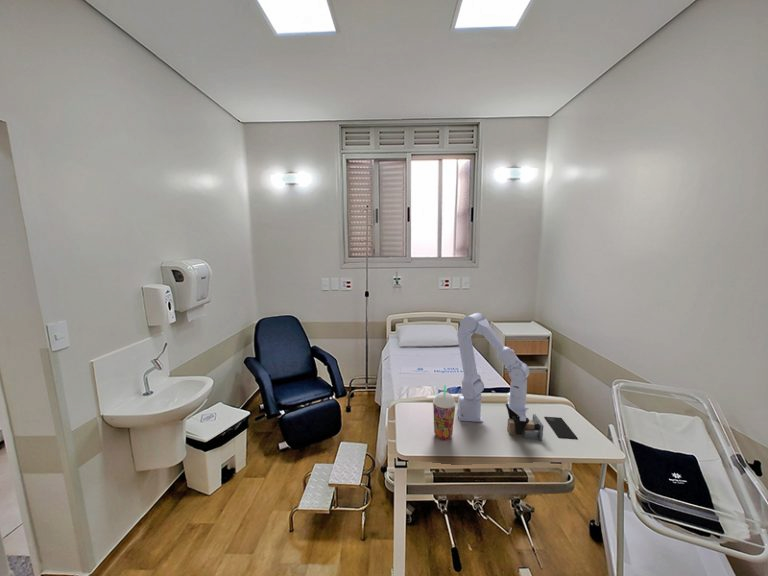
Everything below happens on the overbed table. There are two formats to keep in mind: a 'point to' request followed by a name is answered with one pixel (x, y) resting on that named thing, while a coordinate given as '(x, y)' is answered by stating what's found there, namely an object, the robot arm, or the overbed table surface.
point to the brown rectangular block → (512, 427)
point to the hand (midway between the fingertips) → (515, 428)
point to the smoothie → (443, 414)
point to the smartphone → (560, 428)
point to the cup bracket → (535, 430)
